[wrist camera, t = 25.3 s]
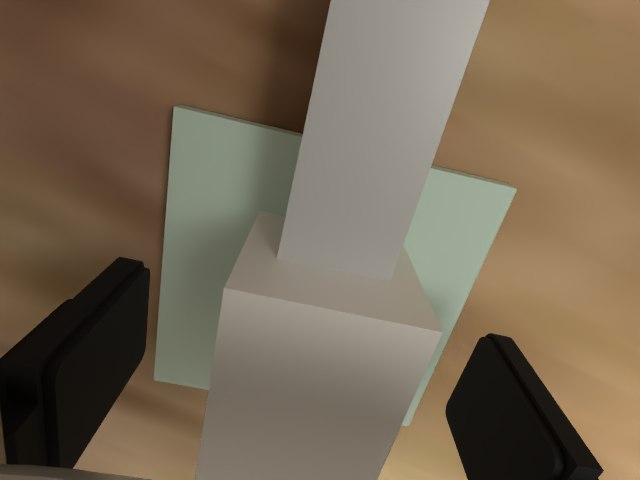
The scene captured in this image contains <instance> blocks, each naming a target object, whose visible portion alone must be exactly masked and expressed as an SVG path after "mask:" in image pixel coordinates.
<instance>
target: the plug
mask: <svg viewBox="0 0 640 480" xmlns="http://www.w3.org/2000/svg"><path fill="white" fill-rule="evenodd" d="M489 2H490V0H331V2H330V7H329V12H328V17H327V21H326V26H325V31H324V36H323V40H322V45H321V50H320V55H319V59H318V64H317V69H316V74H315V79H314V83H313V88H312V93H311V98H310V102H309V107H308V112H307V117H306V122H305V126H304V131H303V136H302V141H301V145H300V150H299V155H298V160H297V165H296V169H295V174H294V179H293V184H292V188H291V193H290V198H289V203H288V207H287V212H286V216H283V215H278V214H274V213H269V212H265V211H260V212H259V214H258V216H257V218H256V220H255V222H254V224H253V227H252V229H251V231H250V233H249V235H248V237H247V240H246V242H245V244H244V246H243V248H242V250H241V252H240V255H239V257H238V259H237V261H236V263H235V265H234V267H233V270H232V272H231V274H230V276H229V278H228V280H227V282H226V285H225V287H224V291H223V298H222V304H221V311H220V318H219V324H218V331H217V337H216V344H215V350H214V357H213V364H212V370H211V377H210V383H209V390H208V397H207V403H206V410H205V416H204V423H203V430H202V436H201V443H200V449H199V456H198V462H197V469H196V476H195V480H377V479H378V476H379V474H380V472H381V470H382V467H383V465H384V463H385V461H386V458H387V456H388V454H389V452H390V450H391V447H392V445H393V443H394V441H395V438H396V436H397V434H398V432H399V429H400V427H401V425H402V423H403V420H404V418H405V416H406V414H407V412H408V409H409V407H410V405H411V403H412V400H413V398H414V396H415V394H416V391H417V389H418V387H419V385H420V382H421V380H422V378H423V376H424V373H425V371H426V369H427V367H428V365H429V362H430V360H431V358H432V356H433V353H434V351H435V349H436V347H437V344H438V342H439V340H440V338H441V335H442V333H443V332H442V329H441V327H440V325H439V323H438V320H437V318H436V316H435V314H434V311H433V309H432V307H431V305H430V303H429V300H428V298H427V296H426V294H425V291H424V289H423V287H422V285H421V282H420V280H419V278H418V276H417V273H416V271H415V269H414V267H413V264H412V262H411V260H410V258H409V256H408V253H407V251H406V249H405V247H404V241H405V239H406V236H407V233H408V230H409V227H410V224H411V222H412V219H413V216H414V213H415V210H416V208H417V205H418V202H419V199H420V196H421V193H422V191H423V188H424V185H425V182H426V179H427V177H428V174H429V171H430V168H431V165H432V162H433V160H434V157H435V154H436V151H437V148H438V145H439V143H440V140H441V137H442V134H443V131H444V129H445V126H446V123H447V120H448V117H449V114H450V112H451V109H452V106H453V103H454V100H455V98H456V95H457V92H458V89H459V86H460V83H461V81H462V78H463V75H464V72H465V69H466V67H467V64H468V61H469V58H470V55H471V52H472V50H473V47H474V44H475V41H476V38H477V35H478V33H479V30H480V27H481V24H482V21H483V19H484V16H485V13H486V10H487V7H488V4H489Z"/></svg>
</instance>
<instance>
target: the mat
mask: <svg viewBox="0 0 640 480" xmlns="http://www.w3.org/2000/svg"><path fill="white" fill-rule="evenodd" d="M302 136H303V134H301V133H297V132H293V131H289V130H285V129H281V128H276V127H272V126H268V125H264V124H260V123H256V122H252V121H247V120H243V119H239V118H235V117H231V116H227V115H222V114H218V113H214V112H210V111H206V110H202V109H198V108H193V107H189V106H185V105H178V106H174V110H173V123H172V137H171V150H170V164H169V178H168V191H167V205H166V218H165V232H164V246H163V259H162V273H161V286H160V300H159V313H158V327H157V341H156V354H155V368H154V380H155V381H160V382H166V383H171V384H177V385H182V386H188V387H193V388H199V389H204V390H209V383H210V377H211V370H212V364H213V357H214V350H215V344H216V337H217V331H218V324H219V318H220V311H221V304H222V298H223V291H224V287H225V285H226V282H227V280H228V278H229V276H230V274H231V272H232V270H233V267H234V265H235V263H236V261H237V259H238V257H239V255H240V252H241V250H242V248H243V246H244V244H245V242H246V240H247V237H248V235H249V233H250V231H251V229H252V227H253V224H254V222H255V220H256V218H257V216H258V214H259V212H260V211H265V212H269V213H274V214H278V215H283V216H286V212H287V207H288V203H289V198H290V193H291V188H292V184H293V179H294V174H295V169H296V165H297V160H298V155H299V150H300V145H301V141H302ZM516 191H517V188H515V187H513V186H512V185H510V184H509V183H505V182H501V181H497V180H492V179H488V178H484V177H480V176H476V175H472V174H467V173H463V172H459V171H455V170H451V169H447V168H443V167H438V166H434V165H431V168H430V171H429V174H428V177H427V179H426V182H425V185H424V188H423V191H422V193H421V196H420V199H419V202H418V205H417V208H416V210H415V213H414V216H413V219H412V222H411V224H410V227H409V230H408V233H407V236H406V239H405V241H404V247H405V249H406V251H407V253H408V256H409V258H410V260H411V262H412V264H413V267H414V269H415V271H416V273H417V276H418V278H419V280H420V282H421V285H422V287H423V289H424V291H425V294H426V296H427V298H428V300H429V303H430V305H431V307H432V309H433V311H434V314H435V316H436V318H437V320H438V323H439V325H440V327H441V329H442V332H443V333H442V335H441V338H440V340H439V342H438V344H437V347H436V349H435V351H434V353H433V356H432V358H431V360H430V362H429V365H428V367H427V369H426V371H425V373H424V376H423V378H422V380H421V382H420V385H419V387H418V389H417V391H416V394H415V396H414V398H413V400H412V403H411V405H410V407H409V409H408V412H407V414H406V416H405V418H404V420H403V423H402V426H407V427H408V426H409V424H410V422H411V419H412V417H413V415H414V413H415V411H416V409H417V406H418V404H419V402H420V400H421V398H422V395H423V393H424V391H425V389H426V387H427V385H428V382H429V380H430V378H431V376H432V374H433V371H434V369H435V367H436V365H437V363H438V361H439V358H440V356H441V354H442V352H443V350H444V348H445V345H446V343H447V341H448V339H449V337H450V334H451V332H452V330H453V328H454V326H455V324H456V321H457V319H458V317H459V315H460V313H461V310H462V308H463V306H464V304H465V302H466V300H467V297H468V295H469V293H470V291H471V289H472V286H473V284H474V282H475V280H476V278H477V276H478V273H479V271H480V269H481V267H482V265H483V262H484V260H485V258H486V256H487V254H488V252H489V249H490V247H491V245H492V243H493V241H494V238H495V236H496V234H497V232H498V230H499V228H500V225H501V223H502V221H503V219H504V217H505V215H506V212H507V210H508V208H509V206H510V204H511V201H512V199H513V197H514V195H515V193H516Z"/></svg>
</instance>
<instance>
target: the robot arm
mask: <svg viewBox="0 0 640 480" xmlns="http://www.w3.org/2000/svg"><path fill="white" fill-rule="evenodd" d="M149 282H150V270H149V268H145V267H144V263H143V262H142V261H138V260H133V259H128V258H123V257H119V258H117V259H116V260H115V261H114V262H113V263H112V264H111V265H110V266H108V267H107V268H106V269H105V270H104V271H103V272H102V273H101V274H100V275H99V276H97V277H96V278H95V279H94V280H93V281H92V282H91V283H90V284H89V285H87V286H86V287H85V288H84V289H83V290H82V291H81V292H80V293H79V294H78V295H76V296H75V297H74V298H73V299H69V300H67V301H65V302H64V303H62V304H61V305H60V306H59V307H58V308H57V309H56V310H54V311H53V312H52V313H51V314H50V315H49V316H48V317H47V318H45V319H44V320H43V321H42V322H41V323H40V324H39V325H38V326H36V327H35V328H34V329H33V330H32V331H31V332H30V333H29V334H27V335H26V336H25V337H24V338H23V339H22V340H21V341H20V342H18V343H17V344H16V345H15V346H14V347H13V348H12V349H11V350H9V351H8V352H7V353H6V354H5V355H4V356H3V357H2V358H0V480H150V479H143V478H135V477H128V476H121V475H113V474H106V473H99V472H92V471H84V470H77V469H73V467H74V466H75V464H76V463H77V461H78V459H79V458H80V456H81V455H82V453H83V452H84V450H85V448H86V447H87V445H88V444H89V442H90V441H91V439H92V437H93V436H94V434H95V433H96V431H97V429H98V428H99V426H100V425H101V423H102V422H103V420H104V418H105V417H106V415H107V414H108V412H109V411H110V409H111V407H112V406H113V404H114V403H115V401H116V400H117V398H118V396H119V395H120V393H121V392H122V390H123V388H124V387H125V385H126V384H127V382H128V381H129V379H130V377H131V376H132V374H133V373H134V371H135V370H136V368H137V366H138V365H139V363H140V362H141V360H142V358H143V355H144V352H145V347H146V332H147V316H148V299H149ZM446 418H447V421H448V424H449V427H450V430H451V432H452V435H453V438H454V441H455V444H456V447H457V450H458V453H459V456H460V458H461V461H462V464H463V467H464V470H465V473H466V476H467V479H468V480H599V479H598V477H599V476H600V475H601V473H602V472H603V471H604V470H603V469H602V467H601V466H600V465H599V463H598V462H597V460H596V459H595V457H594V456H593V455H592V453H591V452H590V450H589V449H588V447H587V446H586V444H585V443H584V442H583V440H582V439H581V437H580V436H579V434H578V433H577V431H576V430H575V429H574V427H573V426H572V424H571V423H570V421H569V420H568V418H567V417H566V416H565V414H564V413H563V411H562V410H561V408H560V407H559V406H558V404H557V403H556V401H555V400H554V398H553V397H552V395H551V394H550V393H549V391H548V390H547V388H546V387H545V385H544V384H543V382H542V381H541V380H540V378H539V377H538V375H537V374H536V372H535V371H534V369H533V368H532V367H531V365H530V364H529V362H528V361H527V359H526V358H525V357H524V355H523V354H522V352H521V351H520V349H519V348H518V346H517V345H516V344H515V342H514V341H513V340H512V339H511V338H510V337H506V336H501V335H496V334H492V333H490V334H487V335H486V336H485V337H481V338H480V339H479V341H478V343H477V345H476V347H475V349H474V351H473V353H472V355H471V357H470V359H469V361H468V363H467V365H466V367H465V369H464V371H463V373H462V375H461V377H460V379H459V381H458V383H457V385H456V387H455V389H454V391H453V393H452V395H451V397H450V399H449V401H448V403H447V405H446Z"/></svg>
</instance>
